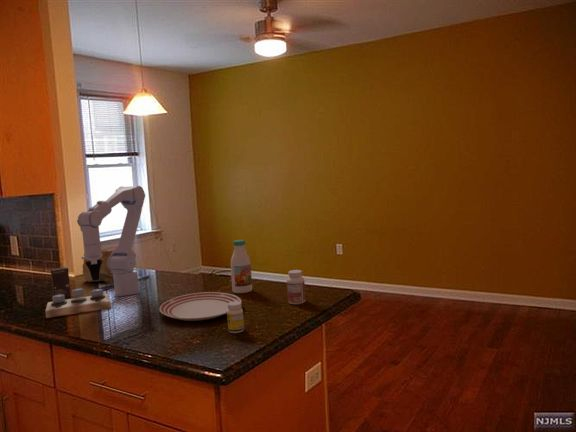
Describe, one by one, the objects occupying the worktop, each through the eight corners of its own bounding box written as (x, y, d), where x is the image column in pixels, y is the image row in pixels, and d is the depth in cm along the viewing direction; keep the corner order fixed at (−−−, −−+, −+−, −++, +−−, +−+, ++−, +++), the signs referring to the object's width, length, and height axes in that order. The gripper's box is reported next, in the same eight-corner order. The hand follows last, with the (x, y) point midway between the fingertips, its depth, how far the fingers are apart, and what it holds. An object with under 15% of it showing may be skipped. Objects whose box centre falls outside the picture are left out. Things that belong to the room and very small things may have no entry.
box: (54, 300, 185) (51, 270, 183) (53, 298, 188) (50, 268, 187) (71, 297, 188) (68, 268, 187) (69, 295, 192) (66, 266, 190)
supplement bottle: (228, 328, 143) (226, 301, 142) (244, 327, 143) (242, 300, 142) (228, 334, 138) (226, 306, 137) (244, 332, 138) (242, 305, 137)
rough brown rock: (141, 281, 213) (139, 248, 212) (106, 287, 200) (105, 251, 199) (113, 277, 227) (111, 246, 227) (79, 282, 214) (78, 249, 214)
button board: (109, 299, 182) (108, 292, 182) (110, 307, 171) (110, 299, 171) (48, 308, 174) (47, 300, 173) (46, 318, 163) (45, 309, 162)
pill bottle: (296, 298, 170) (295, 268, 169) (309, 301, 166) (307, 270, 164) (284, 302, 166) (282, 271, 165) (296, 306, 161) (295, 274, 160)
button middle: (84, 293, 175) (83, 287, 175) (84, 295, 172) (83, 290, 171) (72, 294, 174) (71, 289, 174) (72, 297, 170) (71, 292, 170)
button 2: (103, 293, 178) (102, 288, 178) (103, 296, 174) (102, 290, 174) (91, 295, 176) (91, 290, 176) (91, 297, 173) (91, 292, 173)
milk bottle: (228, 293, 182) (225, 242, 180) (238, 287, 189) (235, 238, 187) (246, 294, 179) (243, 242, 177) (255, 288, 186) (252, 238, 184)
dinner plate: (258, 309, 161) (257, 299, 160) (190, 332, 141) (189, 322, 141) (210, 296, 180) (209, 287, 180) (144, 315, 161) (143, 305, 160)
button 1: (65, 299, 173) (64, 293, 173) (64, 301, 169) (64, 296, 169) (53, 300, 171) (52, 295, 171) (52, 303, 168) (51, 298, 168)
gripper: (80, 242, 178) (83, 277, 180) (80, 248, 165) (84, 285, 167) (100, 240, 181) (103, 274, 183) (101, 245, 168) (105, 282, 169)
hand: (95, 279), depth 175 cm, fingers closed
